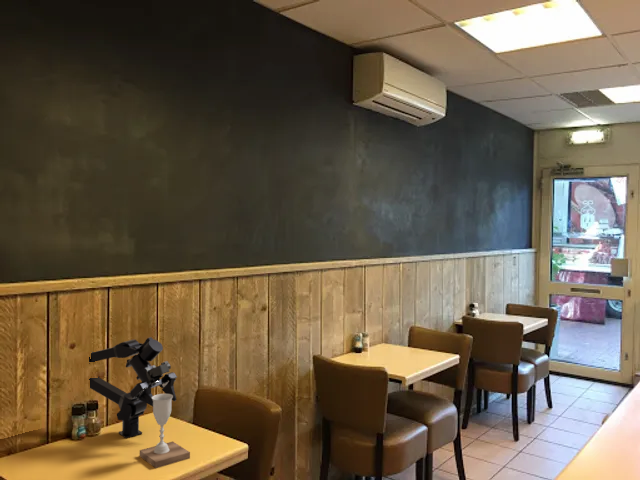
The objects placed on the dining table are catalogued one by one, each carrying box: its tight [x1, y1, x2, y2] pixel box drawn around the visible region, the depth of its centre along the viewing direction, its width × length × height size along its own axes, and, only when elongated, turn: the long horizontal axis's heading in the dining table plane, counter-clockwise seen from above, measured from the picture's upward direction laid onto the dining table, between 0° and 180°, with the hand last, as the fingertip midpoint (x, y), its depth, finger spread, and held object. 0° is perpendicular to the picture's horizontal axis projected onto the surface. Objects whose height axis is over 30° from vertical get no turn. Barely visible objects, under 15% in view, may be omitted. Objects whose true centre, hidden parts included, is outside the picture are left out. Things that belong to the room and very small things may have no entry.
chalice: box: [152, 393, 173, 454], centre depth 182 cm, size 7×7×18 cm
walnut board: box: [139, 441, 191, 469], centre depth 182 cm, size 12×12×2 cm
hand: (166, 404), depth 195 cm, fingers open, 9 cm apart
